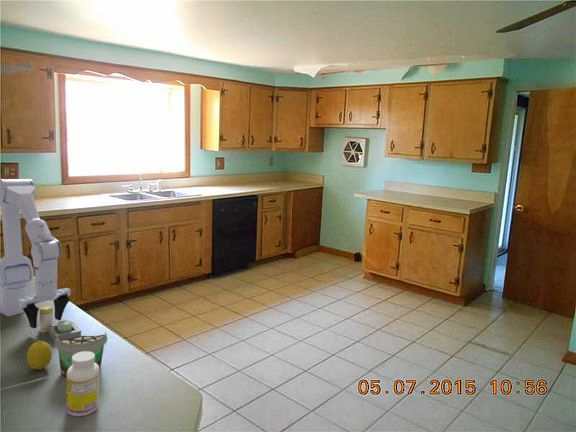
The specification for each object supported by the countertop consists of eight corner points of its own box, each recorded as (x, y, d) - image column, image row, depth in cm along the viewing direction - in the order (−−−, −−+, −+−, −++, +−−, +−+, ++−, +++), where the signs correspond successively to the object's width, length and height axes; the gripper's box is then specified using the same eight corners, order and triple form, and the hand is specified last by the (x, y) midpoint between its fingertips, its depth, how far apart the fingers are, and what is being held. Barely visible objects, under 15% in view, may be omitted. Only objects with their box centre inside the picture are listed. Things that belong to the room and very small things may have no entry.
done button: (55, 330, 129) (55, 322, 128) (70, 327, 131) (70, 319, 131) (59, 335, 126) (59, 327, 125) (74, 332, 128) (74, 324, 128)
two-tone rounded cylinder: (36, 330, 130) (37, 308, 129) (48, 326, 133) (48, 305, 132) (43, 334, 129) (43, 312, 128) (55, 330, 132) (55, 308, 131)
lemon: (56, 366, 113) (56, 337, 112) (42, 377, 108) (42, 347, 107) (36, 363, 114) (36, 334, 112) (21, 374, 108) (21, 344, 107)
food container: (54, 386, 105) (54, 347, 103) (54, 373, 110) (54, 336, 108) (108, 377, 111) (109, 341, 109) (106, 365, 116) (107, 331, 114)
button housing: (48, 334, 129) (48, 326, 129) (73, 329, 134) (73, 322, 133) (55, 343, 124) (55, 336, 123) (80, 338, 129) (81, 330, 128)
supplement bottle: (73, 399, 101) (74, 348, 98) (102, 400, 101) (104, 349, 99) (60, 417, 94) (61, 362, 92) (92, 418, 95) (93, 364, 93)
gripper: (29, 289, 120) (29, 335, 123) (77, 278, 133) (76, 319, 135) (15, 283, 124) (15, 327, 126) (63, 272, 136) (62, 313, 138)
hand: (45, 323), depth 131 cm, fingers open, 7 cm apart
